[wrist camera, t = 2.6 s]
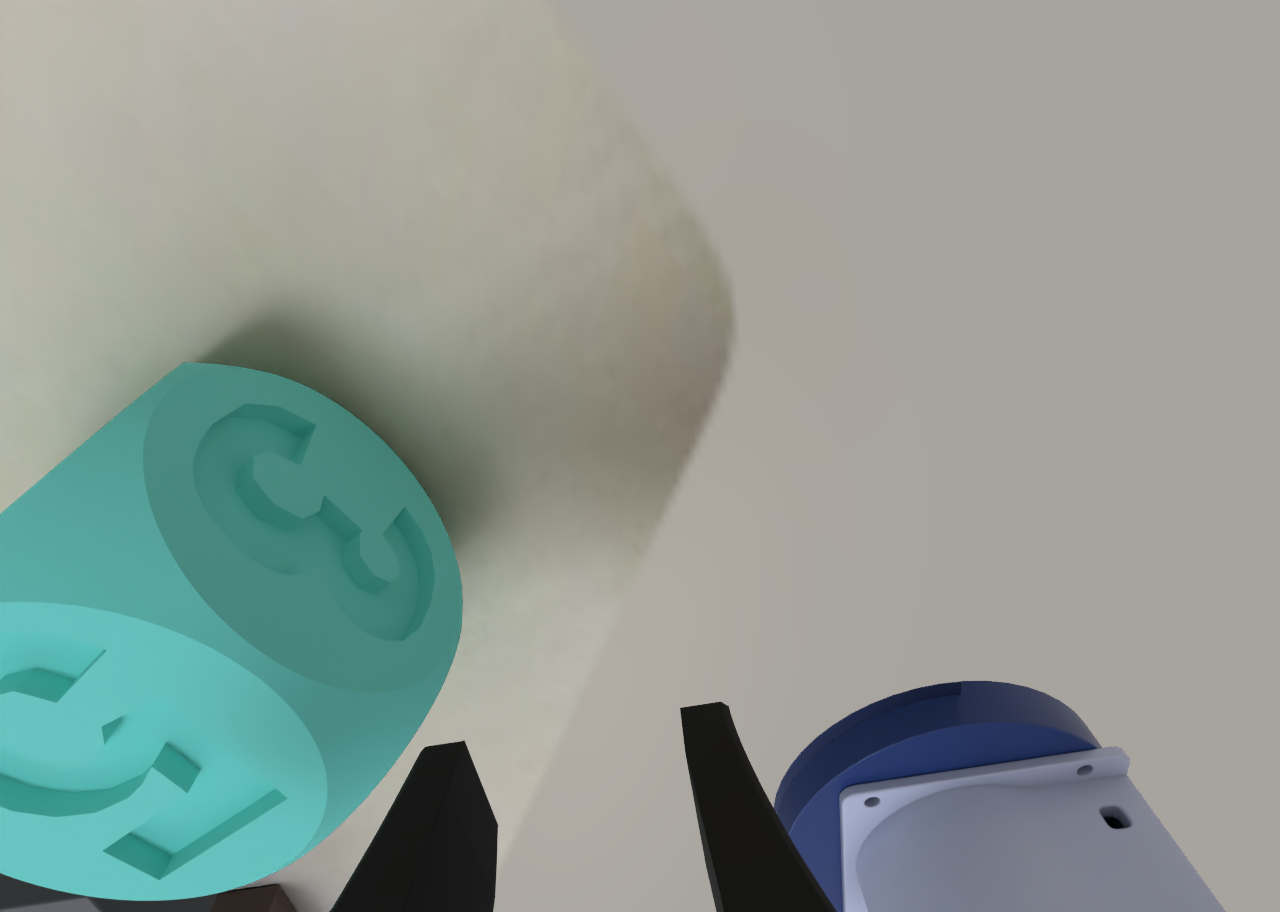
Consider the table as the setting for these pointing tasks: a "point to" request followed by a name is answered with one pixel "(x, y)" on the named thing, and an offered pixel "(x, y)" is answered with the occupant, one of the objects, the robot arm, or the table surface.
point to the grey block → (85, 901)
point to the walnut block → (253, 901)
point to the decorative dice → (212, 638)
